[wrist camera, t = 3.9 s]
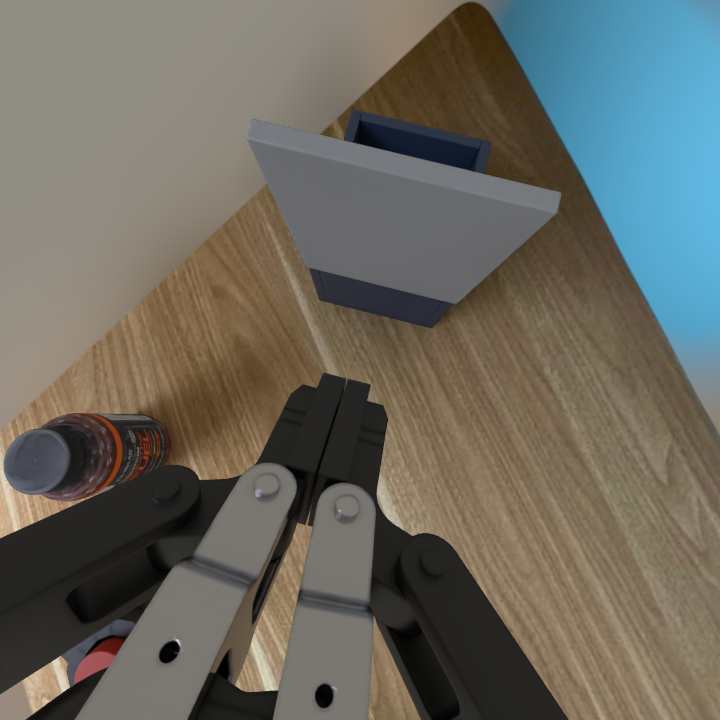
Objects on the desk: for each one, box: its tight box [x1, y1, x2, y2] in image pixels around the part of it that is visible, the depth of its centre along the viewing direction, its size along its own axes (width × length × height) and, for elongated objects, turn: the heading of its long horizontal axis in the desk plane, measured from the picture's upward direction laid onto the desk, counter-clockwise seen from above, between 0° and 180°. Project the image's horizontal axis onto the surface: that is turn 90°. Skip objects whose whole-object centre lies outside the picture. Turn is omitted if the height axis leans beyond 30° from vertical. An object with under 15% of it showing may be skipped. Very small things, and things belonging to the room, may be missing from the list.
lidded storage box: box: [309, 109, 491, 328], centre depth 33 cm, size 13×11×9 cm
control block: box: [61, 596, 154, 687], centre depth 30 cm, size 10×7×4 cm
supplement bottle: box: [4, 413, 170, 501], centre depth 28 cm, size 6×6×11 cm
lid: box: [247, 119, 561, 304], centre depth 20 cm, size 14×11×1 cm
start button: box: [74, 638, 126, 684], centre depth 28 cm, size 4×4×2 cm
